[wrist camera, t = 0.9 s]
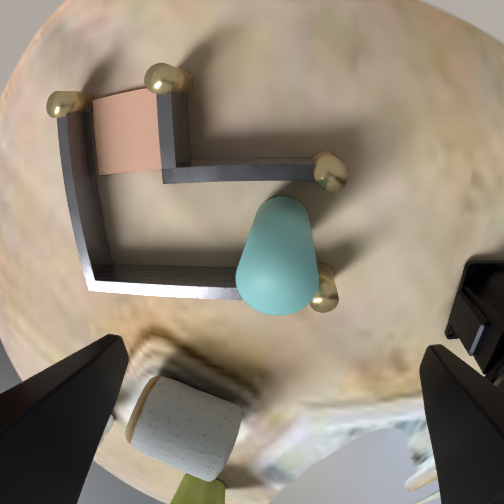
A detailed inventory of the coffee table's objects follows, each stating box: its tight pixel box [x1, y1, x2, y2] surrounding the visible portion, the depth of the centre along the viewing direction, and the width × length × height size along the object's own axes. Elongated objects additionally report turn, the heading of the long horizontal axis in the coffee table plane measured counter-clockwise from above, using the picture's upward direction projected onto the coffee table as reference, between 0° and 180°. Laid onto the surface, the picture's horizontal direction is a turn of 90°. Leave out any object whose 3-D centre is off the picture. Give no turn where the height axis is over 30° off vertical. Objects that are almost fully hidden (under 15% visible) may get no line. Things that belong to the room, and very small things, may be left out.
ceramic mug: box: [125, 376, 242, 482], centre depth 23 cm, size 11×8×8 cm
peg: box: [236, 196, 319, 316], centre depth 15 cm, size 3×3×7 cm
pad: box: [92, 88, 162, 175], centre depth 17 cm, size 5×5×1 cm
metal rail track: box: [46, 63, 348, 313], centre depth 17 cm, size 16×14×3 cm
